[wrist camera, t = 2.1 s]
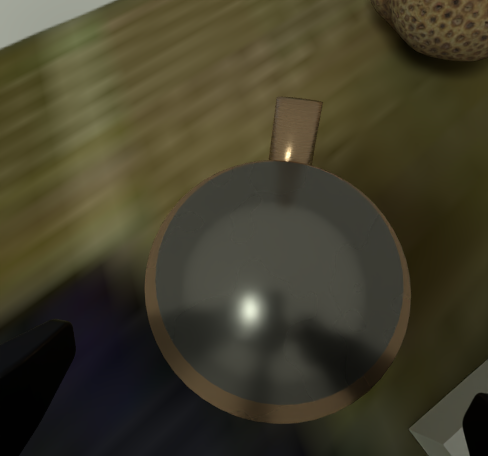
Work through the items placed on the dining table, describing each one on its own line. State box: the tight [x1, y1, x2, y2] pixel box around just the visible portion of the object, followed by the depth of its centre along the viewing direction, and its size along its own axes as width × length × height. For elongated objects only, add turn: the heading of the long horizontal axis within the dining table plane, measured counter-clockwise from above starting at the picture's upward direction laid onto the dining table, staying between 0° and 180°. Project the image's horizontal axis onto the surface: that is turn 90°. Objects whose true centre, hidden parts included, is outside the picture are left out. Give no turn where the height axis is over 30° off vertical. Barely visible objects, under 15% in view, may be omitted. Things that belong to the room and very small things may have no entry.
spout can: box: [145, 97, 411, 424], centre depth 13 cm, size 8×6×11 cm
